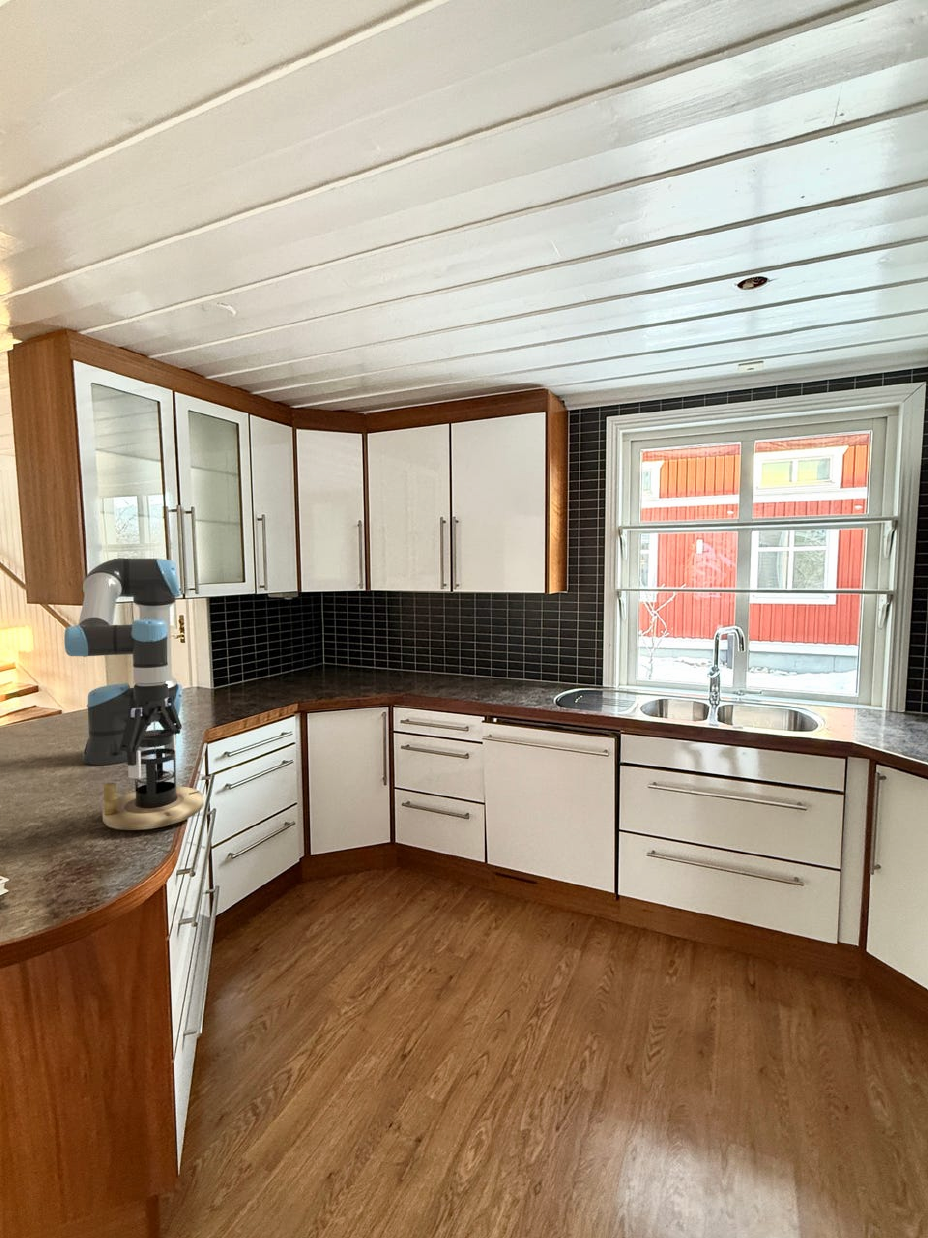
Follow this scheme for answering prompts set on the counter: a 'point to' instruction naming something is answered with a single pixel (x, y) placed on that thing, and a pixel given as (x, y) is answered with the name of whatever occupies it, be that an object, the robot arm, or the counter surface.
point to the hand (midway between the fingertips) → (153, 768)
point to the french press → (156, 771)
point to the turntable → (148, 809)
